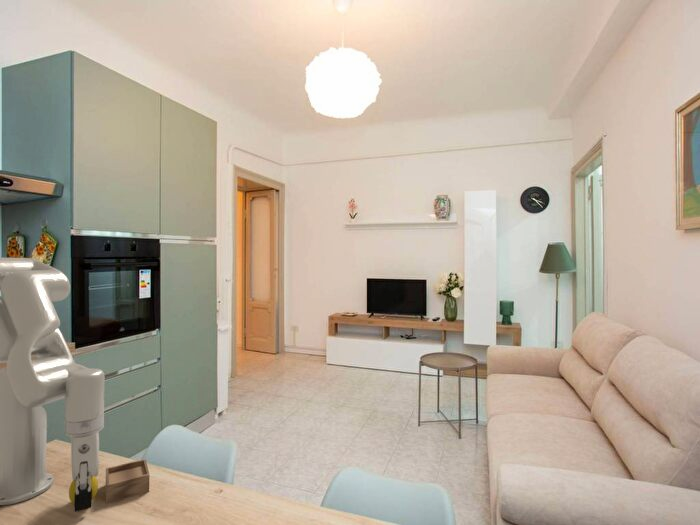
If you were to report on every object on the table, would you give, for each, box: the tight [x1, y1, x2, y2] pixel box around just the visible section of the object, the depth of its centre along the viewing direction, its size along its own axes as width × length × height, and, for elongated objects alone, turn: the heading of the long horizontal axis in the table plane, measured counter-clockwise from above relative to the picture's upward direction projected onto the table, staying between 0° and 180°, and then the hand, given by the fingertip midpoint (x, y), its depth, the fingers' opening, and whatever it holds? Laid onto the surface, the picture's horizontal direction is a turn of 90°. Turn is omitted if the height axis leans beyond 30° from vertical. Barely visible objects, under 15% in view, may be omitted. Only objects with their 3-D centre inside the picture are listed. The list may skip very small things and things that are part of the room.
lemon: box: [68, 473, 99, 505], centre depth 90 cm, size 6×6×8 cm
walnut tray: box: [105, 458, 150, 504], centre depth 97 cm, size 9×9×4 cm
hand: (83, 499), depth 90 cm, fingers open, 7 cm apart
